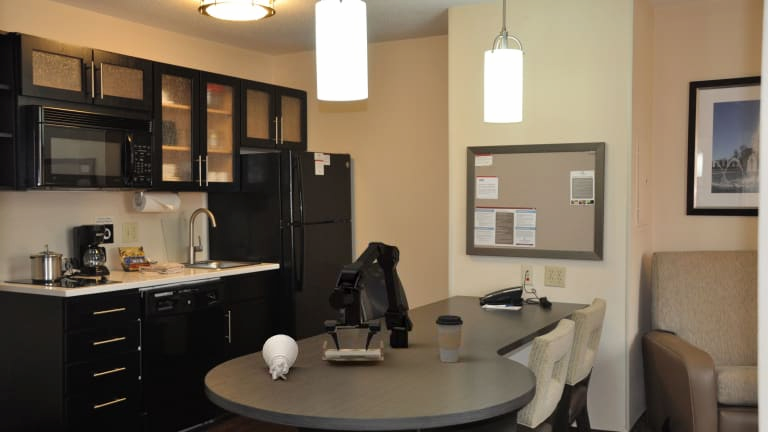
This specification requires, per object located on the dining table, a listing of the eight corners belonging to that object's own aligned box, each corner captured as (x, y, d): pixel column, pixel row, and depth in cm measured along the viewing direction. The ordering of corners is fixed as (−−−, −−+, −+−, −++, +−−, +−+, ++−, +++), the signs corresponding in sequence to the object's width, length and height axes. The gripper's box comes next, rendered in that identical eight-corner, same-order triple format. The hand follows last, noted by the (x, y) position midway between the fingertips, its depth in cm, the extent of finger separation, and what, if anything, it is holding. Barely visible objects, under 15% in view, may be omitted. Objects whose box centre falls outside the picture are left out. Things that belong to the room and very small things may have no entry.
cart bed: (382, 352, 260) (382, 340, 260) (383, 360, 248) (383, 348, 248) (324, 352, 260) (324, 341, 260) (322, 360, 248) (322, 348, 247)
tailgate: (379, 354, 247) (379, 350, 239) (379, 359, 247) (379, 356, 238) (326, 355, 247) (325, 351, 238) (326, 360, 246) (325, 356, 238)
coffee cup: (465, 358, 251) (465, 315, 250) (459, 364, 242) (459, 320, 241) (439, 356, 254) (439, 314, 253) (432, 362, 245) (432, 318, 244)
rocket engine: (281, 351, 218) (282, 327, 235) (252, 375, 219) (255, 349, 236) (306, 377, 221) (305, 352, 239) (277, 400, 222) (278, 373, 239)
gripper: (380, 301, 248) (380, 346, 248) (325, 301, 247) (325, 346, 248) (380, 306, 237) (380, 353, 237) (323, 306, 236) (323, 353, 237)
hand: (352, 351), depth 240 cm, fingers open, 9 cm apart
